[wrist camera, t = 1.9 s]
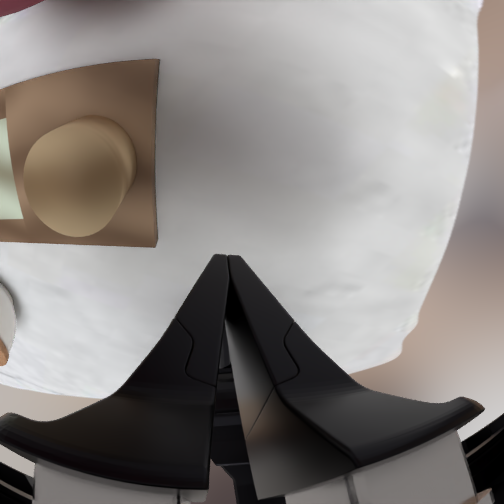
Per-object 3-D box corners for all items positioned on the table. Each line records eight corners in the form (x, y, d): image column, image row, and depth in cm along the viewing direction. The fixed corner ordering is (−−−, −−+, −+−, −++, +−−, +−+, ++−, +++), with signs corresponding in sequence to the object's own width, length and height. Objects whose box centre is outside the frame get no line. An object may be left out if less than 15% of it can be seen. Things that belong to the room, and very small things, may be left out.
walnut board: (157, 239, 22) (155, 247, 21) (-21, 234, 18) (-27, 240, 18) (159, 59, 14) (155, 58, 13) (-46, 110, 10) (-53, 114, 9)
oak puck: (139, 207, 19) (125, 238, 16) (59, 207, 18) (36, 235, 15) (137, 111, 15) (116, 123, 12) (48, 120, 14) (16, 136, 11)
